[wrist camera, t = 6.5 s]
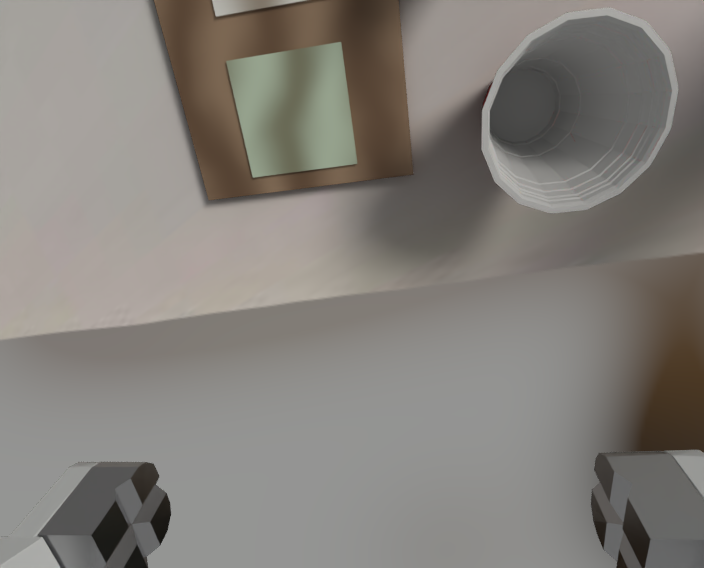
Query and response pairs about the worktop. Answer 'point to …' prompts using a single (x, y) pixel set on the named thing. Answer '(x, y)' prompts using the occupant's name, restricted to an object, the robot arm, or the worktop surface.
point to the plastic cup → (579, 110)
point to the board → (290, 91)
